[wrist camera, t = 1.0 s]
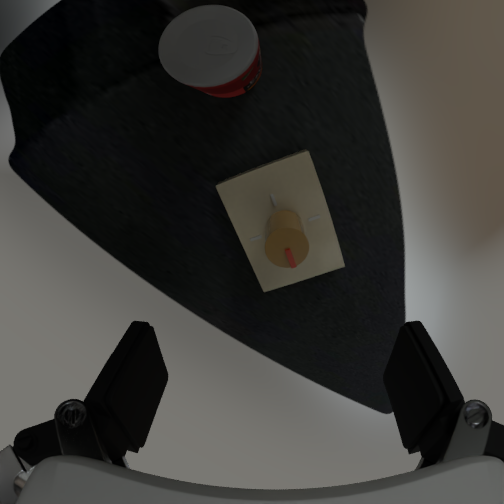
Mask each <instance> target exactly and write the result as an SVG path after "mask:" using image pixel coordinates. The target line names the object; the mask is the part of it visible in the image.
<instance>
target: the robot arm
mask: <svg viewBox="0 0 504 504" xmlns="http://www.w3.org/2000/svg"><path fill="white" fill-rule="evenodd" d="M167 381H168V372H167V369H166V366H165V363H164V360H163V357H162V354H161V351H160V347H159V344H158V341H157V338H156V334H155V331H154V328H153V327H152V326H150V325H149V323H148V322H142V321H133V322H132V323H131V325H130V326H129V328H128V329H127V331H126V333H125V334H124V336H123V338H122V339H121V340H120V342H119V344H118V345H117V347H116V348H115V350H114V352H113V353H112V354H111V356H110V358H109V359H108V361H107V362H106V364H105V366H104V367H103V369H102V371H101V372H100V374H99V376H98V377H97V379H96V381H95V383H94V384H93V386H92V387H91V389H90V391H89V393H88V394H87V396H86V398H85V400H84V402H83V401H81V400H78V399H70V400H67V401H64V402H63V403H61V404H60V405H59V406H58V408H57V409H56V411H55V414H54V419H53V420H49V421H47V422H44V423H41V424H38V425H35V426H32V427H29V428H27V429H24V430H22V431H20V432H19V433H18V434H17V435H16V437H15V440H14V446H13V447H12V446H11V445H9V446H7V447H6V448H4V449H3V450H2V451H0V504H504V425H501V424H499V423H497V422H495V421H492V413H491V410H490V408H489V407H488V406H487V405H486V404H485V403H484V402H482V401H480V400H470V401H468V402H466V403H465V401H464V398H463V396H462V394H461V392H460V390H459V388H458V386H457V384H456V382H455V380H454V378H453V376H452V374H451V372H450V371H449V369H448V367H447V365H446V363H445V362H444V360H443V358H442V356H441V354H440V353H439V351H438V349H437V347H436V346H435V344H434V342H433V341H432V339H431V337H430V336H429V334H428V332H427V331H426V329H425V328H424V326H423V324H422V323H421V322H420V321H413V322H412V321H411V322H406V323H405V324H404V326H402V327H401V328H400V330H399V333H398V336H397V339H396V342H395V345H394V348H393V351H392V353H391V356H390V359H389V361H388V364H387V367H386V369H385V372H384V375H383V381H384V384H385V387H386V390H387V393H388V396H389V399H390V403H391V406H392V409H393V412H394V415H395V418H396V422H397V426H398V429H399V432H400V436H401V440H402V443H403V446H404V448H406V449H408V452H409V454H412V453H415V452H419V451H420V452H421V456H422V458H421V460H420V462H419V464H418V466H417V468H416V469H415V471H411V472H407V473H404V474H399V475H395V476H391V477H386V478H382V479H377V480H372V481H367V482H361V483H355V484H349V485H341V486H333V487H323V488H310V489H288V490H263V489H241V488H229V487H219V486H209V485H203V484H196V483H190V482H184V481H179V480H174V479H168V478H164V477H160V476H155V475H151V474H147V473H143V472H139V471H135V470H131V469H130V467H129V465H128V463H127V461H126V459H125V454H126V451H127V450H128V451H132V452H135V453H138V451H139V448H140V447H141V448H142V447H143V446H144V444H145V442H146V439H147V436H148V433H149V431H150V428H151V425H152V422H153V419H154V417H155V414H156V411H157V408H158V405H159V403H160V400H161V397H162V395H163V392H164V389H165V387H166V384H167Z"/></svg>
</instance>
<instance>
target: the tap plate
mask: <svg viewBox="0 0 504 504" xmlns="http://www.w3.org/2000/svg"><path fill="white" fill-rule="evenodd" d="M216 189H217V191H218V193H219V195H220V197H221V200H222V202H223V204H224V206H225V208H226V211H227V213H228V215H229V217H230V219H231V222H232V224H233V226H234V228H235V230H236V233H237V235H238V237H239V239H240V241H241V244H242V246H243V248H244V250H245V252H246V254H247V257H248V259H249V261H250V263H251V265H252V268H253V270H254V272H255V274H256V276H257V278H258V281H259V283H260V285H261V287H262V289H263V291H264V292H266V291H270V290H273V289H276V288H280V287H283V286H286V285H289V284H292V283H296V282H299V281H302V280H305V279H308V278H311V277H314V276H317V275H320V274H323V273H326V272H329V271H332V270H335V269H338V268H341V267H344V266H345V265H344V261H343V257H342V254H341V250H340V246H339V243H338V239H337V236H336V232H335V229H334V226H333V222H332V219H331V216H330V213H329V210H328V206H327V203H326V200H325V197H324V194H323V191H322V188H321V185H320V182H319V179H318V176H317V173H316V171H315V168H314V165H313V162H312V159H311V157H310V154H309V151H307V150H303V151H300V152H297V153H294V154H291V155H288V156H286V157H283V158H280V159H277V160H274V161H272V162H269V163H266V164H264V165H261V166H258V167H256V168H253V169H251V170H248V171H245V172H243V173H240V174H238V175H235V176H233V177H230V178H228V179H225V180H223V181H221V182H219V183H218V184H217V185H216ZM281 210H289V211H292V212H294V213H296V214H297V215H299V217H300V218H301V219H302V221H303V224H304V228H305V231H306V235H307V238H308V242H309V252H308V255H307V257H306V258H305V260H304V261H303V262H302V263H300V264H299V265H297V267H295V268H291V267H290V268H283V267H279V266H276V265H274V264H273V263H272V262H271V261H270V260H269V259H268V258H267V256H266V253H265V233H266V223H267V221H268V219H269V218H270V216H271V215H273V214H274V213H276V212H278V211H281Z"/></svg>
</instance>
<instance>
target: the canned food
mask: <svg viewBox="0 0 504 504" xmlns="http://www.w3.org/2000/svg"><path fill="white" fill-rule="evenodd" d="M159 57H160V61H161V63H162V65H163V67H164V69H165V70H166V71H167V72H168V73H169V74H170V75H171V76H172V77H173V78H175V79H176V80H178V81H179V82H182V83H184V84H186V85H188V86H190V87H193V88H195V89H198V90H200V91H202V92H205V93H207V94H209V95H212V96H216V97H223V98H225V97H234V96H238V95H240V94H243V93H245V92H246V91H248V90H250V89H251V88H252V87H253V86H254V85H255V84H256V82H257V81H258V80H259V77H260V75H261V71H262V60H261V53H260V46H259V40H258V36H257V33H256V30H255V28H254V26H253V25H252V23H251V22H250V20H249V19H248V18H247V17H246V16H245V15H244V14H242V13H241V12H239V11H237V10H235V9H233V8H230V7H227V6H222V5H204V6H199V7H195V8H192V9H190V10H187V11H185V12H183V13H182V14H180V15H179V16H177V17H176V18H175V19H174V20H173V21H172V22H171V23H170V24H169V25H168V26H167V27H166V29H165V30H164V32H163V34H162V36H161V38H160V42H159Z"/></svg>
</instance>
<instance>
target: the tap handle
mask: <svg viewBox="0 0 504 504" xmlns="http://www.w3.org/2000/svg"><path fill="white" fill-rule="evenodd" d="M308 252H309V242H308V238H307V235H306V231H305V228H304V224H303V221H302V219H301V218H300V217H299V215H297V214H296V213H294V212H292V211H289V210H281V211H278V212H276V213H274V214H273V215H271V216H270V218H269V219H268V221H267V223H266V233H265V253H266V256H267V258H268V259H269V260H270V261H271V262H272V263H273V264H274V265H276V266H279V267H283V268H290V267H291V268H295V267H297V265H299V264H300V263H302V262H303V261H304V260H305V258H306V257H307V255H308Z"/></svg>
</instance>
